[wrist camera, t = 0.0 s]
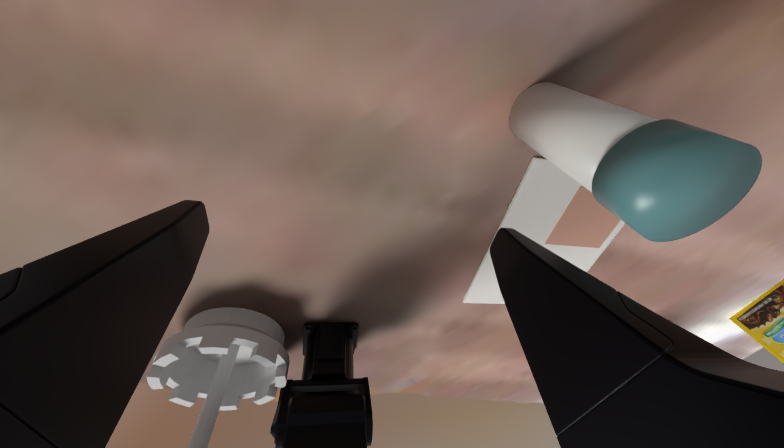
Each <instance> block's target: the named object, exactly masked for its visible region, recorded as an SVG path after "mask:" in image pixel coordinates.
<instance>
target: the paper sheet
mask: <svg viewBox="0 0 784 448" xmlns="http://www.w3.org/2000/svg"><path fill="white" fill-rule="evenodd" d="M624 224H625V222H623V221H622V220H621V219H619V218H618V217H617V216H615V215H614V214H613V213H611V212H610V211H609V210H607V209H606V208H605V207H604V206H602V205H601V204H600V203H598V202H597V201H596V199H595V198H594V196H593V193H592V192H590V191H589V190H588V189H586V188H585V187H584V186H582V185H581V184H580V183H578V182H577V181H575V180H574V179H573V178H571V177H570V176H569V175H567V174H566V173H565V172H563V171H562V170H561V169H559V168H558V167H557V166H555V165H554V164H552V163H551V162H550V161H548V160H547V159H543V158H536V157H533V158H532V160H531V162H530V164H529V166H528V168H527V171H526V173H525V175H524V177H523V179H522V181H521V183H520V185H519V187H518V189H517V191H516V193H515V195H514V197H513V199H512V201H511V203H510V205H509V207H508V209H507V211H506V213H505V215H504V218H503V220H502V222H501V224H500V226H499V228H498V230H499V229H500V228H512V229H515V230H516V231H518V232H520V233H521V234H523V235H525V236H526V237H528V238H530V239H531V240H533V241H535V242H536V243H538V244H540V245H541V246H543V247H545V248H546V249H548V250H550V251H551V252H553V253H555V254H556V255H558V256H560V257H562V258H563V259H565V260H567V261H568V262H570V263H572V264H573V265H575V266H577V267H578V268H580V269H582V270H583V271H585V272H587V271H588V270H589V269H590V267H591V266H592V265H593V264H594V262H595V261H596V260H597V259H598V257H599V256H600V255H601V254H602V252H603V251H604V250H605V248H606V247H607V246H608V245H609V243H610V242H611V241H612V240H613V238H614V237H615V236H616V235H617V233H618V232H619V231H620V230H621V228H622V227H623V226H624ZM498 230H497V231H498ZM496 233H497V232H496ZM495 235H496V234H495ZM494 237H495V236H494ZM493 239H494V238H493ZM492 242H493V240H492ZM492 242H491V244H492ZM491 244H490V246H491ZM490 246H489V248H488V250H487V252H486V254H485V256H484V258H483V260H482V262H481V264H480V267H479V269H478V271H477V273H476V275H475V277H474V279H473V281H472V283H471V285H470V287H469V289H468V291H467V293H466V295H465V297H464V299H463V301H462V302H463V303H491V304H505V302H504V300H503V297H502V294H501V292H500V288H499V285H498V281H497V278H496V274H495V270H494V267H493V263H492V259H491V255H490Z"/></svg>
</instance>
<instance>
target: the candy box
mask: <svg viewBox="0 0 784 448" xmlns="http://www.w3.org/2000/svg"><path fill="white" fill-rule="evenodd" d="M729 319H730V320H732V321H733V322H734V323H735V324H737V325H738V326H739V327H740V328H741V329H743V330H744V331H745V332H746V333H748V334H749V335H750V336H751V337H752V338H754V339H755V340H756V341H757V342H758V343H760V344H761V345H762V346H763V347H764V348H766V349H767V350H768V351H769V352H771V353H772V354H773V355H774V356H776V357H777V358H778V359H779V360H780V361H781V362H783V363H784V280H782V281H781V282H780V283H778V284H777V285H775V286H774V287H773V288H771V289H770V290H768V291H767V292H766V293H764V294H763V295H761V296H760V297H759V298H757V299H756V300H754V301H753V302H752V303H750V304H749V305H748V306H746V307H745V308H743V309H742V310H741V311H739V312H738V313H736V314H735V315H734V316H732V317H731V318H729Z"/></svg>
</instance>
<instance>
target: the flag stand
mask: <svg viewBox="0 0 784 448" xmlns="http://www.w3.org/2000/svg"><path fill="white" fill-rule="evenodd" d="M284 339H285V336H284V332H283V330H282V328H281V327H280V325H279V324H278V323H277V322H276V321H274V320H273V319H272V318H270V317H268V316H266V315H264V314H262V313H259V312H256V311H253V310H249V309H244V308H235V307H221V308H214V309H209V310H205V311H202V312H200V313H198V314H196V315H194V316H193V317H192V318H190V319H189V320H188V321H187V323H186V324H185V326H184V328H183V330H182V331H181V332H179V333H177V334H175V335H173V336H171V337H170V338H169V339H167V340H166V341H165V342H164V343H163V345H162V346H161V348H160V349H159V351H158V353H157V355H156V356H155V358H154V362H153V366H152V368H151V369H150V371H149V373H148V375H147V381H148V384H149V385H150V387H151V388H152V389H163V388H164V387H165V385H168V386H169V387H171V388H173V391H172V393H171V395H170V397H169V401H172V402H175V403H177V404H180V405H184V406H188V407H190V406H192V405H193V404H194V403H195V400H196V398H197V397H201V398H206V400H205V402H204V405H203V408H202V410H201V413H200V416H199V419H198V421H197V424H196V427H195V429H194V432H193V435H192V438H191V440H190V443H189V446H188V448H207V446H208V443H209V440H210V437H211V434H212V431H213V427H214V424H215V421H216V418H217V415H218V412H219V410H238V408H239V404H240V400H241V399H244V398H251V397H254V402H255V403H256V404H258V405H261V404H263V403H266V402H268V401H270V400H272V399H274V398H275V397H276V391H277V387H285V384H286V379H287V373H288V367H289V355H288V353H287V351H286V350H285V348H284V347H283V344H284Z"/></svg>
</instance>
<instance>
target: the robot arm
mask: <svg viewBox="0 0 784 448" xmlns="http://www.w3.org/2000/svg"><path fill="white" fill-rule="evenodd" d="M208 234H209V223H208V218H207V214H206V209H205V205H204V204H203V203H202V202H201V201H192V200H184V201H181V202H179V203H176V204H174V205H172V206H169V207H167V208H164V209H162V210H159V211H157V212H154V213H152V214H149V215H147V216H144V217H142V218H139V219H137V220H134V221H132V222H130V223H127V224H125V225H122V226H120V227H117V228H115V229H112V230H110V231H107V232H105V233H102V234H100V235H97V236H95V237H92V238H90V239H87V240H85V241H83V242H80V243H78V244H75V245H73V246H70V247H68V248H65V249H63V250H60V251H58V252H55V253H53V254H50V255H48V256H45V257H43V258H41V259H38V260H36V261H33V262H31V263H28V264H26V265H24V266H23V268H16V269H13V270H11V271H8V272H6V273H3V274H1V275H0V448H105V447H106V445H107V443H108V441H109V439H110V437H111V435H112V433H113V431H114V429H115V427H116V425H117V424H118V422H119V420H120V418H121V416H122V414H123V412H124V410H125V408H126V406H127V404H128V402H129V400H130V398H131V396H132V395H133V393H134V391H135V389H136V387H137V385H138V383H139V381H140V379H141V377H142V375H143V373H144V371H145V369H146V368H147V366H148V364H149V362H150V360H151V358H152V356H153V354H154V352H155V350H156V348H157V346H158V344H159V342H160V341H161V339H162V337H163V335H164V333H165V331H166V329H167V327H168V325H169V323H170V321H171V319H172V317H173V315H174V313H175V312H176V310H177V308H178V306H179V304H180V302H181V300H182V298H183V296H184V294H185V292H186V290H187V288H188V286H189V284H190V282H191V280H192V278H193V275H194V273H195V270H196V267H197V264H198V262H199V259H200V256H201V253H202V251H203V248H204V245H205V242H206V240H207V237H208ZM490 255H491V259H492V263H493V267H494V270H495V274H496V278H497V281H498V285H499V288H500V292H501V294H502V297H503V300H504V302H505V305H506V307H507V310H508V313H509V315H510V318H511V320H512V323H513V325H514V328H515V330H516V333H517V336H518V338H519V341H520V343H521V346H522V348H523V351H524V354H525V356H526V359H527V361H528V364H529V366H530V369H531V372H532V374H533V377H534V379H535V382H536V384H537V387H538V389H539V392H540V395H541V397H542V400H543V402H544V405H545V407H546V410H547V413H548V415H549V418H550V420H551V423H552V425H553V428H554V431H555V433H556V435H557V439H558V441H559V444H560V446H561V448H784V372H782V371H777V370H773V369H768V368H765V367H761V366H758V365H755V364H752V363H749V362H747V361H744V360H742V359H740V358H737V357H735V356H733V355H731V354H729V353H727V352H725V351H724V350H722V349H720V348H718V347H716V346H714V345H713V344H711V343H709V342H707V341H705V340H703V339H702V338H700V337H698V336H696V335H694V334H692V333H691V332H689V331H687V330H685V329H683V328H681V327H680V326H678V325H676V324H674V323H672V322H671V321H669V320H667V319H665V318H663V317H662V316H660V315H658V314H656V313H654V312H653V311H651V310H649V309H647V308H646V307H644V306H642V305H641V304H639V303H637V302H635V301H634V300H632V299H630V298H629V297H627V296H625V295H624V294H622V293H620V292H618V291H616V290H615V289H613V288H612V287H610V286H608V285H607V284H605V283H603V282H602V281H600V280H598V279H597V278H595V277H593V276H592V275H590V274H588V273H587V272H585V271H583V270H582V269H580V268H578V267H577V266H575V265H573V264H572V263H570V262H568V261H567V260H565V259H563V258H562V257H560V256H558V255H556V254H555V253H553V252H551V251H550V250H548V249H546V248H545V247H543V246H541V245H540V244H538V243H536V242H535V241H533V240H531V239H530V238H528V237H526V236H525V235H523V234H521V233H520V232H518V231H516V230H515V229H512V228H500V229H499V230H498V231H497V233H496V235H495V237H494V239H493V242H492V244H491V246H490ZM358 329H359V325H358V324H357V323H305V324H304V327H303V355H304V356H305V357H304V365H303V373H302V380H293V379H291V380H287V383H286V386H285V387H283V388H281V390H280V396H279V401H278V406H277V409H276V413H275V416H274V419H273V423H272V426H271V432H270V433H271V434H272V436H273V437H274V439H275V444H276V447H275V448H367V446H370V445H371V442H372V430H373V426H372V425H373V421H372V407H371V399H370V391H369V383H368V377H363V378H357V379H353V354H354V349H355V344H356V339H357V334H358Z"/></svg>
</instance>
